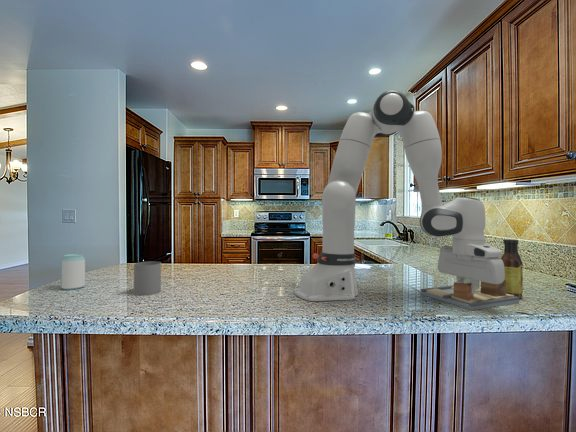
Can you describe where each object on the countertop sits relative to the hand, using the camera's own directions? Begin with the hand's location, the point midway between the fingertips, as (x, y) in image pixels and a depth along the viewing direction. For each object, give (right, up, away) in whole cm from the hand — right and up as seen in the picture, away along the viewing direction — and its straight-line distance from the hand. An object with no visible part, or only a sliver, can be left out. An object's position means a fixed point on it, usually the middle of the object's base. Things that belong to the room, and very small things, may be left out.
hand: (467, 292), depth 95 cm
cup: (-105, -3, +9) cm, 106 cm away
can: (-134, -2, +13) cm, 135 cm away
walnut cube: (+11, -2, +5) cm, 12 cm away
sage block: (+8, -2, +13) cm, 15 cm away
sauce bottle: (+20, -4, +9) cm, 23 cm away
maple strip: (+7, -3, +3) cm, 8 cm away
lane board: (+4, -4, +7) cm, 9 cm away
